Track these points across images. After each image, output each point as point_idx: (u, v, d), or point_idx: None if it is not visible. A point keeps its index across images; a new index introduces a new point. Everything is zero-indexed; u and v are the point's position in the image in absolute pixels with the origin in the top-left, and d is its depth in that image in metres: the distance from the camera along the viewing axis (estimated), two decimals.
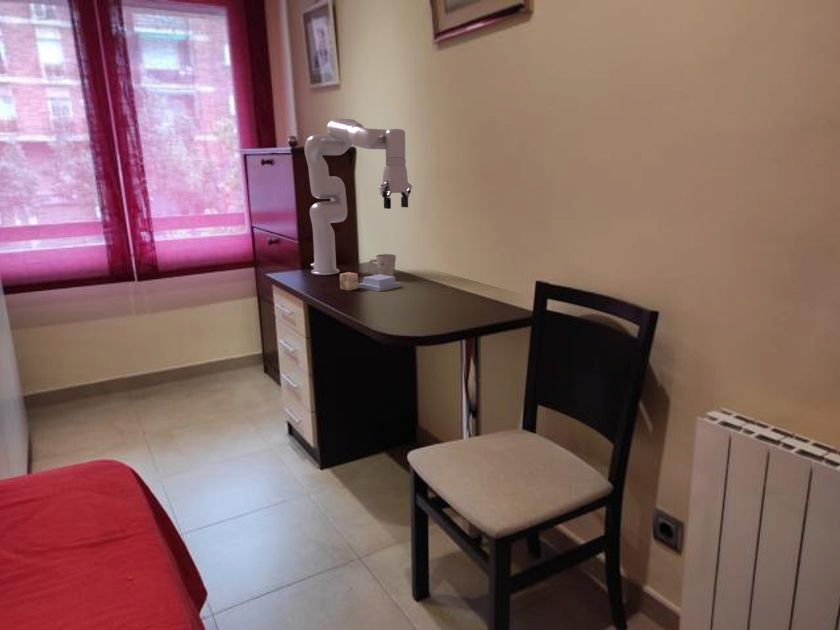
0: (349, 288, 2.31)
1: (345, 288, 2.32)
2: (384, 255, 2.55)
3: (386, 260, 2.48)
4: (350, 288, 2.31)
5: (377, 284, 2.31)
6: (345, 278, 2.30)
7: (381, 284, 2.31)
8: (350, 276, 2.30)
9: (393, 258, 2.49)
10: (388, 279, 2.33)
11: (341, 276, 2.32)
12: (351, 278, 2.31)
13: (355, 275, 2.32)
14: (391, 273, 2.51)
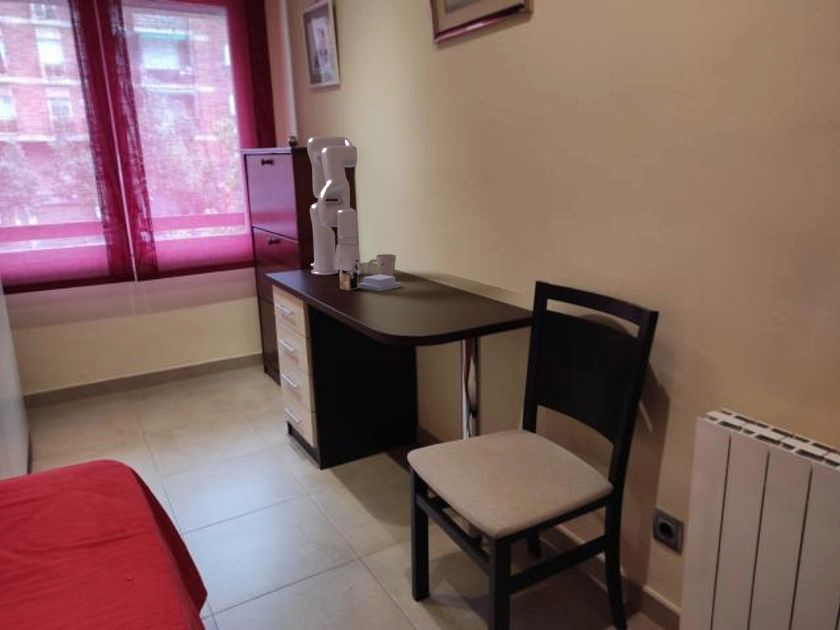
0: (349, 288, 2.31)
1: (345, 288, 2.31)
2: (384, 255, 2.55)
3: (386, 260, 2.48)
4: (350, 288, 2.31)
5: (377, 284, 2.31)
6: (345, 278, 2.30)
7: (381, 284, 2.31)
8: (350, 276, 2.30)
9: (393, 258, 2.49)
10: (388, 279, 2.33)
11: (341, 276, 2.32)
12: (351, 278, 2.31)
13: None
14: (391, 273, 2.51)
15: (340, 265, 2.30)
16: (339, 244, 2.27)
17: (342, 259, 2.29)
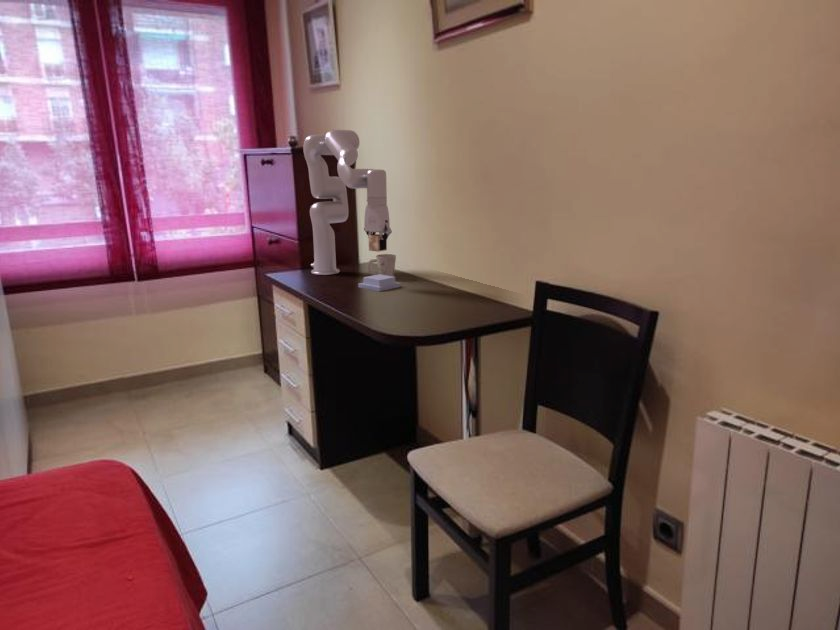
0: (378, 249, 2.30)
1: (374, 249, 2.30)
2: (384, 255, 2.55)
3: (386, 260, 2.48)
4: (379, 249, 2.30)
5: (377, 284, 2.31)
6: (374, 239, 2.29)
7: (381, 284, 2.31)
8: (379, 237, 2.29)
9: (393, 258, 2.49)
10: (388, 279, 2.33)
11: (370, 237, 2.31)
12: (380, 239, 2.29)
13: None
14: (391, 273, 2.51)
15: (369, 226, 2.29)
16: (369, 205, 2.26)
17: (371, 220, 2.28)
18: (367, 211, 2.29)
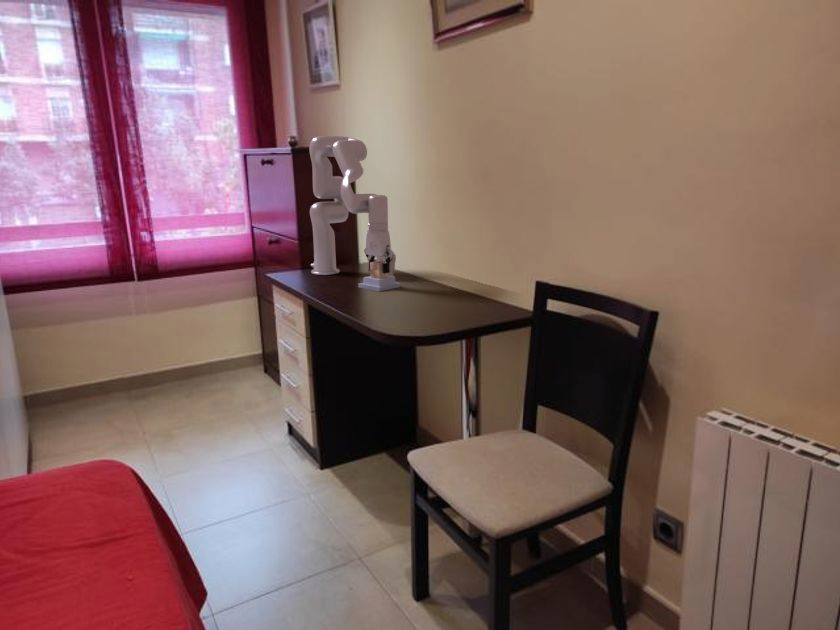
0: (380, 276, 2.32)
1: (375, 276, 2.33)
2: None
3: None
4: (381, 276, 2.33)
5: (377, 284, 2.31)
6: (376, 266, 2.32)
7: (381, 284, 2.31)
8: (381, 264, 2.32)
9: (393, 258, 2.49)
10: (388, 279, 2.33)
11: (371, 264, 2.33)
12: (382, 266, 2.32)
13: None
14: (391, 273, 2.51)
15: (371, 251, 2.32)
16: (370, 230, 2.29)
17: (373, 245, 2.30)
18: (368, 236, 2.31)
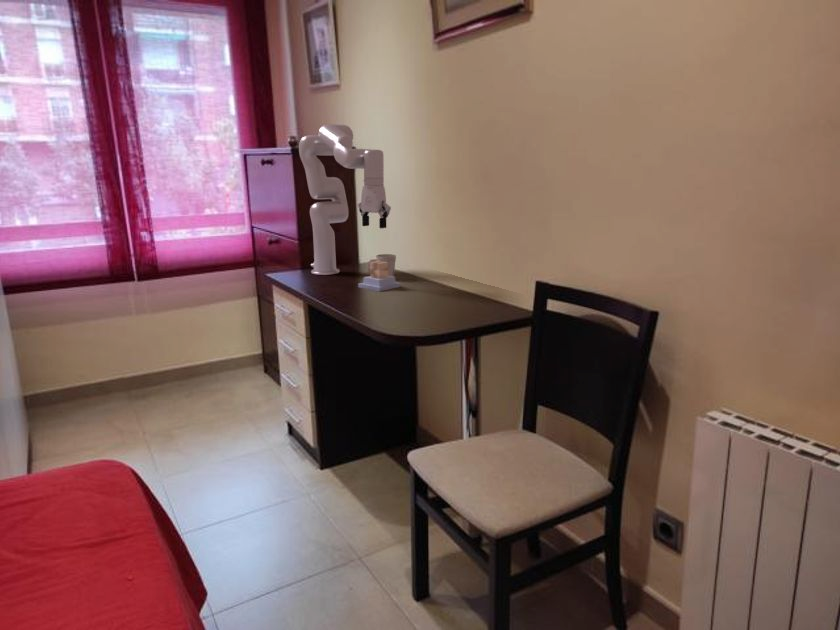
0: (380, 276, 2.32)
1: (375, 276, 2.33)
2: (384, 255, 2.55)
3: (386, 260, 2.48)
4: (381, 276, 2.33)
5: (377, 284, 2.31)
6: (376, 266, 2.32)
7: (381, 284, 2.31)
8: (381, 264, 2.32)
9: (393, 258, 2.49)
10: (388, 279, 2.33)
11: (371, 264, 2.33)
12: (382, 266, 2.32)
13: (385, 263, 2.34)
14: (391, 273, 2.51)
15: (366, 207, 2.29)
16: (365, 185, 2.26)
17: (368, 201, 2.28)
18: (364, 191, 2.29)
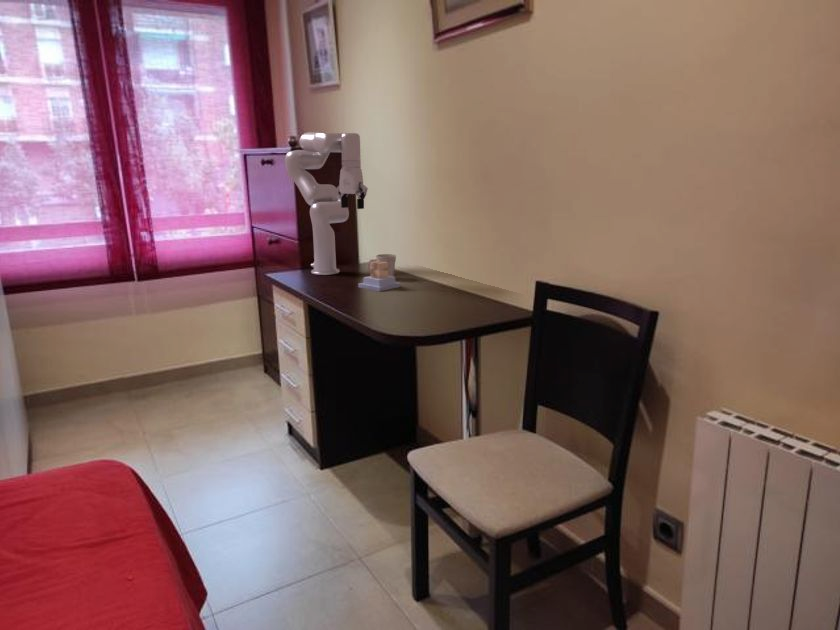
0: (380, 276, 2.32)
1: (375, 276, 2.33)
2: (384, 255, 2.55)
3: (386, 260, 2.48)
4: (381, 276, 2.33)
5: (377, 284, 2.31)
6: (376, 266, 2.32)
7: (381, 284, 2.31)
8: (381, 264, 2.32)
9: (393, 258, 2.49)
10: (388, 279, 2.33)
11: (371, 264, 2.33)
12: (382, 266, 2.32)
13: (385, 263, 2.34)
14: (391, 273, 2.51)
15: (344, 188, 2.38)
16: (343, 167, 2.35)
17: (346, 182, 2.37)
18: (342, 174, 2.38)
